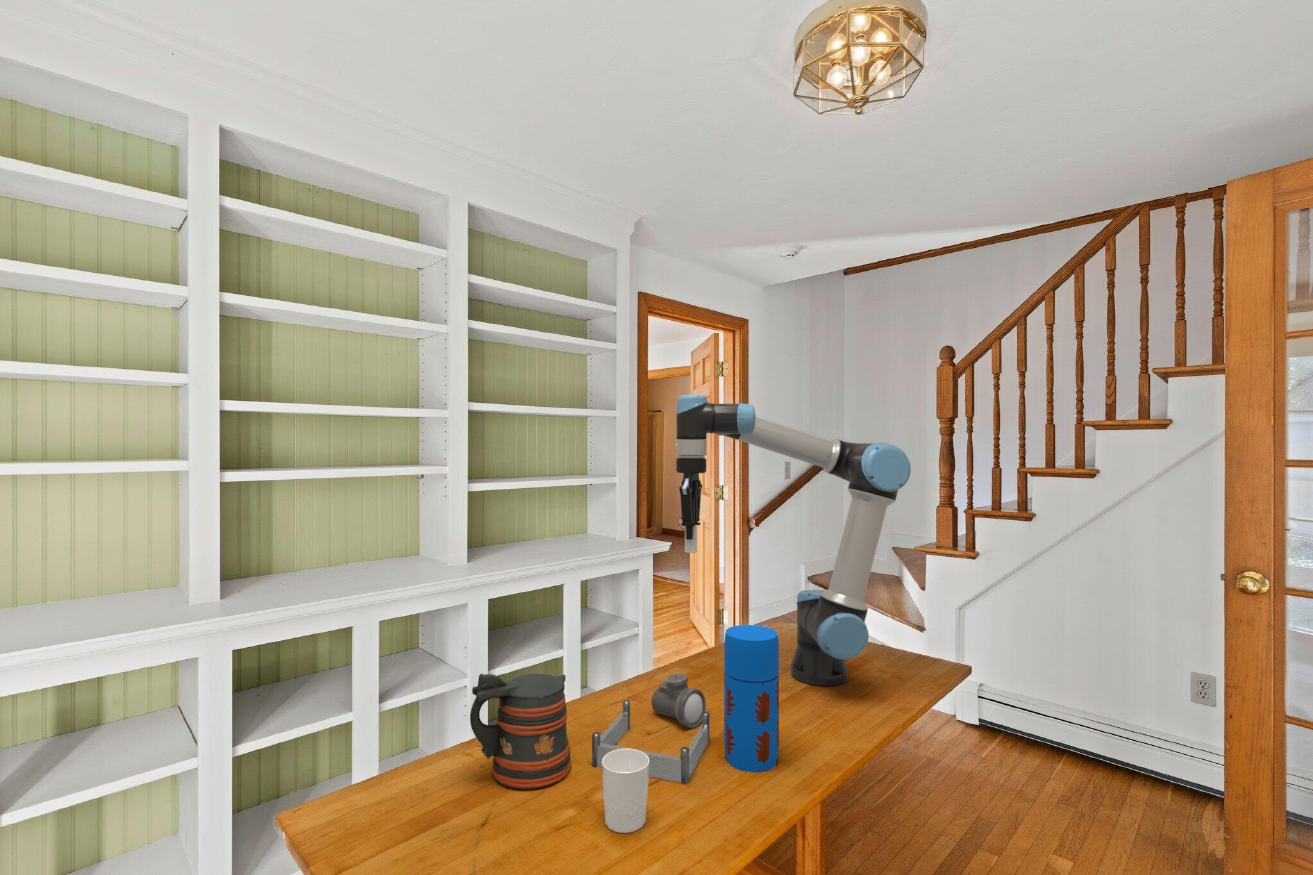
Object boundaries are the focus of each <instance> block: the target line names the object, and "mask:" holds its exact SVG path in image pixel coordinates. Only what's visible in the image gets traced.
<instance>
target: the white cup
mask: <svg viewBox="0 0 1313 875" xmlns="http://www.w3.org/2000/svg"><path fill="white" fill-rule="evenodd" d="M639 750H640V749H637V750H636V749H635V748H631V749H618V750H614V751H611V752H609V753H607V754H606V755H605V756H604V757H603V759H602V767H601V771H602V792H603V793H602V797H603V799H602V800H603V807H604V823H605V825H606V827H608V829H609V830H611V831H612V832H613V831H614V832H615V833H620V834H622V833H623V834H628V833H635V832H636V831H638V830H640V829H642V828H643V826H644V825H645V823H646V819H647V816H646V815H647V804H648V796H649V795H648V793H649V779H650V777H649V757H648V756H647V755H646V754H645V753H644V752H642V751H643V750H642V751H639Z"/></svg>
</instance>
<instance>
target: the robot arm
mask: <svg viewBox="0 0 1313 875" xmlns="http://www.w3.org/2000/svg"><path fill="white" fill-rule="evenodd" d="M675 415H676V420H675V421H676V443H674V448H676V455H677V456H678V457H677V458H676V460H675V463H676V465H675V466H676V467H675V468H676V470H675V471H676V472H677V474H683V475H682V480H681V485H679V487H678V488H679V489H678V490H679V494H680V506H681V507H680V509H681V524H680V525H681V526H682V527H684V553H688V554H689V553H690V554H691V553H692V554H696V553H698V550H697V549H698V526H701V522H700V515H701V514H700V513H701V500H702V499H701V498H702V490H703V484H702V483H701V482H702V481H701V480H700V475H699V474H706V472H707V459H706V458H705V456H707V455H708V454H707V452H708V450H707V449H708V448H707V447H708V444H707V442H708V441H707V437H708V436H707V435H708V434H715V435H718V436H724V437H726V438H730V439H733V440H737V441H740V442H743V443H746V444H749V445H753V446H756V447H759V448H762V449H765V450H768V451H772V452H774V453H777V454H780V455H783V456H787V457H789V458H791V459H795V460H798V461H801V462H805V463H808V464H811V465H814V466H818V467H821V468H822V469H823V471H824V472H825V473H827V474H829V475H833V476H835V477H838V478H839V479H842V480H843V481H846V482H848V483H849V484H848V488H847V491H848V493H849V494H850V496H851V500H850V504H849V508H848V513H847V517H846V521H845V523H844V529H843V533H842V537H841V539H840V544H839V547H838V552H837V556H836V560H835V563H834V566H833V571H832V575H831V579H830V583H829V587H828V589H804V590H801V591H799V592H798V593H797V601H796V609H797V610H796V624H797V625H796V632H797V633H796V634H797V636H796V637H797V638H796V643H797V644H796V647H795V651H794V654H793V656H792V660H791V663H790V675H791V677H793V679H795V680H797V681H798V682H801V681H802V682H801V683H805V684H807V685H812V686H819V687H820V686H821V687H834V686H840V685H842V684H845V683H847V681H849V669H848V666H847V663H846V660H849V659H854V658H856V657H857V656H859V655H860V654H861V653H862V652H863V651H864V650H865V648H866V647H867V645H868V643H869V636H870V635H869V630H868V628H867V624H866V623H865V622H866V618H867V614H868V610H869V608H868V606H867V604H866V602H865V595H866V591H867V587H868V584H869V579H870V574H871V571H872V567H873V564H874V563H873V562H874V559H875V555H876V552H877V548H878V543H879V539H880V535H881V532H882V528H883V524H884V520H885V516H886V513H887V509H888V508H889V506H890V505H892V504H894V503H896V500H897V497H898V493H899V490H900V489H902V487H905V485H906V484H907V483H908V481H909V480H910V477H911V471H912V470H911V469H912V468H911V462H910V460H909V458H908V456H907V454H906V453H905V452H904V451H903V449H901V448H900V447H898V446H896V445H895V444H890V443H886V442H880V441H879V442H875V443H874V442H873V443H872V442H871V443H863V442H862V443H861V442H860V443H859V442H857V443H856V442H848V441H843V440H840V439H834V440H829V439H825V438H822V437H819V436H816V435H813V434H810V433H807V432H804V431H800V430H798V429H794V428H791V427H788V426H785V425H783V424H779V423H776V422H772V421H769V420H767V419H764V418H759V417H756V409H755V406H754V405H753V404H751V403H742V402H740V403H713V402H712V403H710V402H708V397H707V396H706V395H705V394H683V395H682V394H681V395H680V396H679V397H678V398H677V401H676V413H675Z"/></svg>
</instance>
